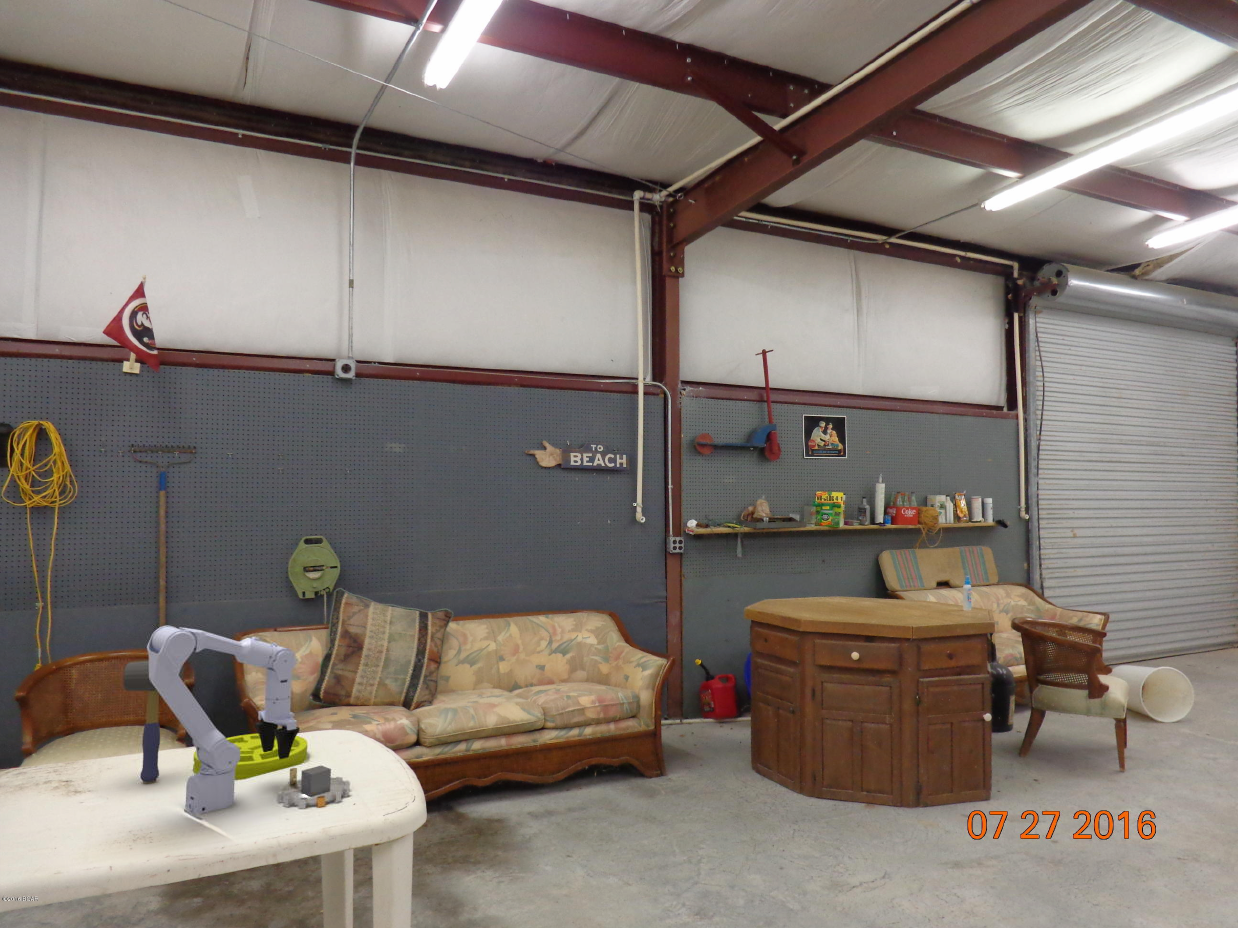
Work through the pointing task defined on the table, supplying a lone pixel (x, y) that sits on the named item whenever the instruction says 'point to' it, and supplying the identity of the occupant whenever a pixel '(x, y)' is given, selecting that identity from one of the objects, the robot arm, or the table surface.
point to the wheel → (295, 798)
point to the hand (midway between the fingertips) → (275, 754)
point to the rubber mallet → (139, 681)
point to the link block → (315, 780)
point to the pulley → (261, 756)
